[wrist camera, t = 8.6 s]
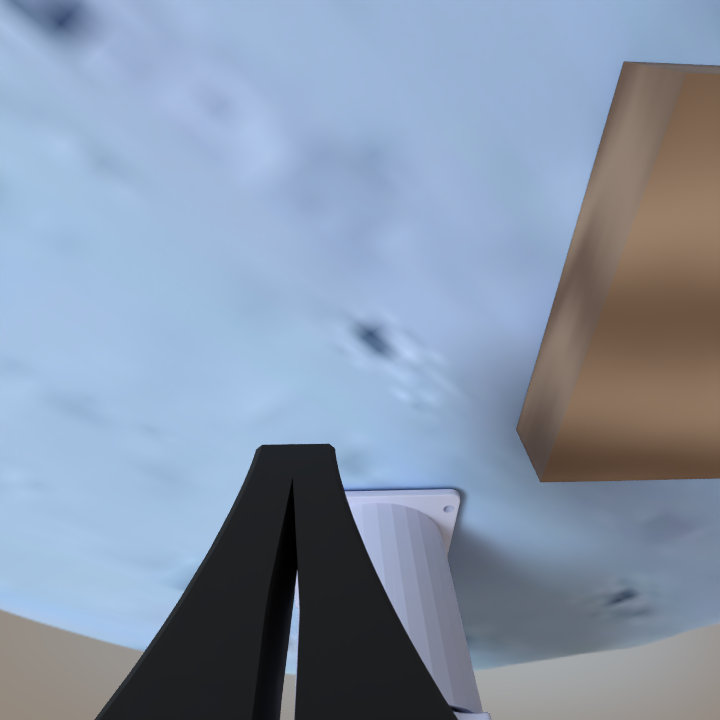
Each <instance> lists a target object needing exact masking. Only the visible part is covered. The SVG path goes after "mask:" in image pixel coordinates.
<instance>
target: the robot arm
mask: <svg viewBox="0 0 720 720" xmlns="http://www.w3.org/2000/svg"><path fill="white" fill-rule="evenodd" d="M459 505H460V496H459V493H458V492H457V491H456V490H453V489H433V490H389V491H344V488H343V485H342V481H341V478H340V474H339V470H338V465H337V460H336V454H335V448H334V447H332V446H331V445H330V444H286V445H262V446H260V447H259V448H258V449H256V452H255V455H254V458H253V461H252V464H251V466H250V469H249V471H248V474H247V476H246V478H245V481H244V483H243V485H242V487H241V490H240V492H239V494H238V496H237V498H236V500H235V502H234V504H233V506H232V508H231V510H230V512H229V514H228V516H227V518H226V520H225V522H224V523H223V525H222V527H221V529H220V531H219V533H218V535H217V537H216V538H215V540H214V542H213V544H212V546H211V548H210V550H209V551H208V553H207V555H206V557H205V558H204V560H203V562H202V563H201V565H200V566H199V568H198V570H197V571H196V573H195V575H194V576H193V578H192V580H191V581H190V583H189V585H188V586H187V588H186V590H185V591H184V593H183V595H182V596H181V598H180V600H179V601H178V603H177V604H176V606H175V607H174V609H173V610H172V612H171V613H170V615H169V617H168V618H167V620H166V621H165V623H164V624H163V626H162V627H161V629H160V630H159V632H158V633H157V635H156V636H155V637H154V639H153V640H152V642H151V643H150V645H149V646H148V648H147V649H146V650H145V652H144V653H143V655H142V656H141V658H140V659H139V660H138V662H137V663H136V665H135V666H134V668H133V669H132V670H131V672H130V673H129V675H128V676H127V677H126V679H125V680H124V681H123V682H122V684H121V685H120V686H119V688H118V689H117V690H116V692H115V693H114V694H113V696H112V697H111V698H110V700H109V701H108V702H107V704H106V705H105V706H104V708H103V709H102V711H101V712H100V713H99V714H98V716H97V717H96V719H95V720H280V711H281V700H282V692H283V683H284V675H285V667H286V659H287V651H288V643H289V635H290V627H291V619H292V610H293V602H294V594H295V601H296V607H297V608H298V636H297V663H296V691H295V692H296V693H295V719H294V720H491V716H490V713H488V712H483V711H482V706H481V702H480V698H479V693H478V689H477V685H476V680H475V676H474V671H473V667H472V663H471V658H470V654H469V650H468V645H467V641H466V637H465V632H464V628H463V624H462V619H461V615H460V611H459V606H458V602H457V598H456V593H455V589H454V585H453V580H452V576H451V572H450V567H449V563H448V558H447V557H448V552H449V548H450V544H451V539H452V535H453V531H454V526H455V522H456V518H457V514H458V509H459Z"/></svg>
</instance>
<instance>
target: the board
mask: <svg viewBox="0 0 720 720" xmlns="http://www.w3.org/2000/svg"><path fill="white" fill-rule="evenodd" d="M516 430H517V433H518V435H519V437H520V439H521V441H522V443H523V446H524V448H525V450H526V452H527V454H528V456H529V458H530V461H531V463H532V465H533V467H534V469H535V471H536V474H537V476H538V478H539V480H540V482H576V481H622V480H667V479H713V478H720V66H715V65H692V64H669V63H646V62H624V63H623V66H622V70H621V73H620V77H619V80H618V83H617V87H616V90H615V94H614V97H613V101H612V104H611V107H610V111H609V114H608V118H607V121H606V124H605V128H604V131H603V135H602V138H601V142H600V145H599V148H598V152H597V155H596V159H595V162H594V166H593V169H592V172H591V176H590V179H589V183H588V186H587V189H586V193H585V196H584V200H583V203H582V207H581V210H580V213H579V217H578V220H577V224H576V227H575V231H574V234H573V237H572V241H571V244H570V248H569V251H568V254H567V258H566V261H565V265H564V268H563V272H562V275H561V278H560V282H559V285H558V289H557V292H556V296H555V299H554V302H553V306H552V309H551V313H550V316H549V319H548V323H547V326H546V330H545V333H544V337H543V340H542V343H541V347H540V350H539V354H538V357H537V361H536V364H535V367H534V371H533V374H532V378H531V381H530V384H529V388H528V391H527V395H526V398H525V402H524V405H523V408H522V412H521V415H520V419H519V422H518V425H517V429H516Z"/></svg>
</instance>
